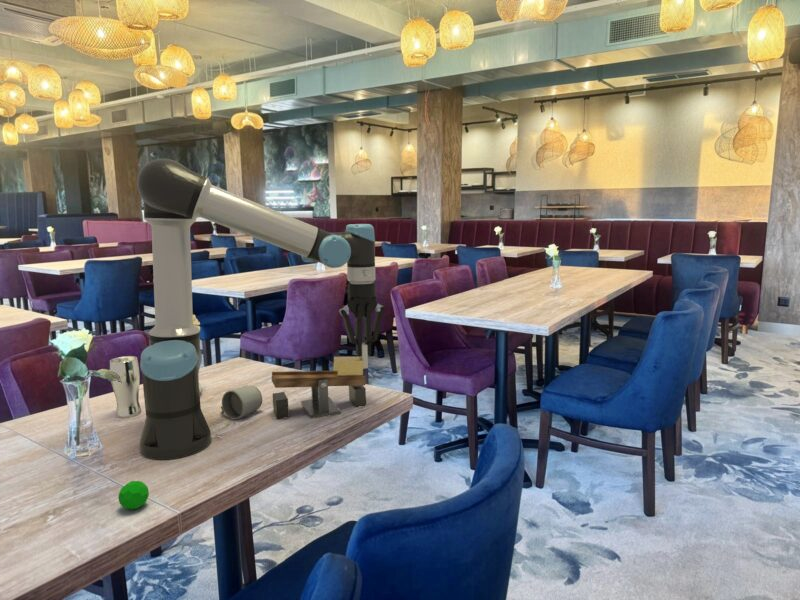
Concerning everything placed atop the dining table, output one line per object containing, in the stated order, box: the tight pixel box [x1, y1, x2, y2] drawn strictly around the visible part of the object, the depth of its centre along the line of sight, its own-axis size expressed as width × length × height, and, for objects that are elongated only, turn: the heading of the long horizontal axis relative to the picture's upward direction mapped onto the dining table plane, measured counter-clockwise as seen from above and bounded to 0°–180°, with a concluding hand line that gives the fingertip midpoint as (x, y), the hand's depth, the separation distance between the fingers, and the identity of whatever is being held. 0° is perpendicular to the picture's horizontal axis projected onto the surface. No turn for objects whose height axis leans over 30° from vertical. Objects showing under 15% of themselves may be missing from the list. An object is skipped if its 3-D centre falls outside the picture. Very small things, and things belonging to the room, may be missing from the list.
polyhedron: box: [117, 480, 150, 510], centre depth 102 cm, size 5×5×5 cm
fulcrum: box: [272, 379, 367, 420], centre depth 150 cm, size 24×12×9 cm, turn 111°
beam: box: [271, 370, 367, 389], centre depth 149 cm, size 24×7×2 cm, turn 111°
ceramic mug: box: [220, 385, 263, 421], centre depth 147 cm, size 11×8×8 cm
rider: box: [332, 356, 364, 377], centre depth 152 cm, size 7×5×5 cm, turn 111°
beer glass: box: [109, 355, 142, 419], centre depth 148 cm, size 7×7×15 cm
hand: (363, 367), depth 153 cm, fingers closed
